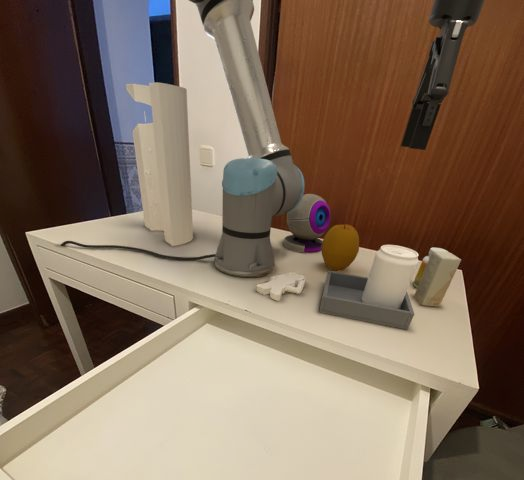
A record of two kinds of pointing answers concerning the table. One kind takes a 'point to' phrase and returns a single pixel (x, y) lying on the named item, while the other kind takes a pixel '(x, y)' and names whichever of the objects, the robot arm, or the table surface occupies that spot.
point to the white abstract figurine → (282, 285)
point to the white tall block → (164, 161)
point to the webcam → (307, 224)
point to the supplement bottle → (423, 265)
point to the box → (436, 278)
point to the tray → (360, 302)
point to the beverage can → (390, 276)
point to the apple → (340, 247)
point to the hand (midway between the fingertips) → (411, 148)
